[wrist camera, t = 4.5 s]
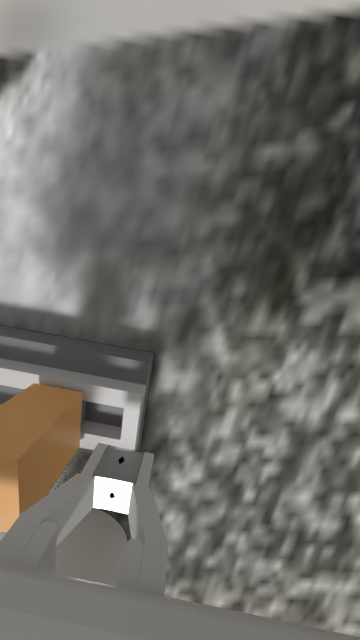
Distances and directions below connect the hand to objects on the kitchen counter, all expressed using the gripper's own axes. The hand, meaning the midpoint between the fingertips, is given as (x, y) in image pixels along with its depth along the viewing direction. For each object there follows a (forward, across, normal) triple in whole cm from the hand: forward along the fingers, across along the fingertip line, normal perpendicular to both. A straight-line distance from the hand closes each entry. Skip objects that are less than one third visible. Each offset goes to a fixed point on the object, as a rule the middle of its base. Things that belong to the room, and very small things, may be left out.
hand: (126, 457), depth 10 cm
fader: (+3, +5, 0) cm, 6 cm away
